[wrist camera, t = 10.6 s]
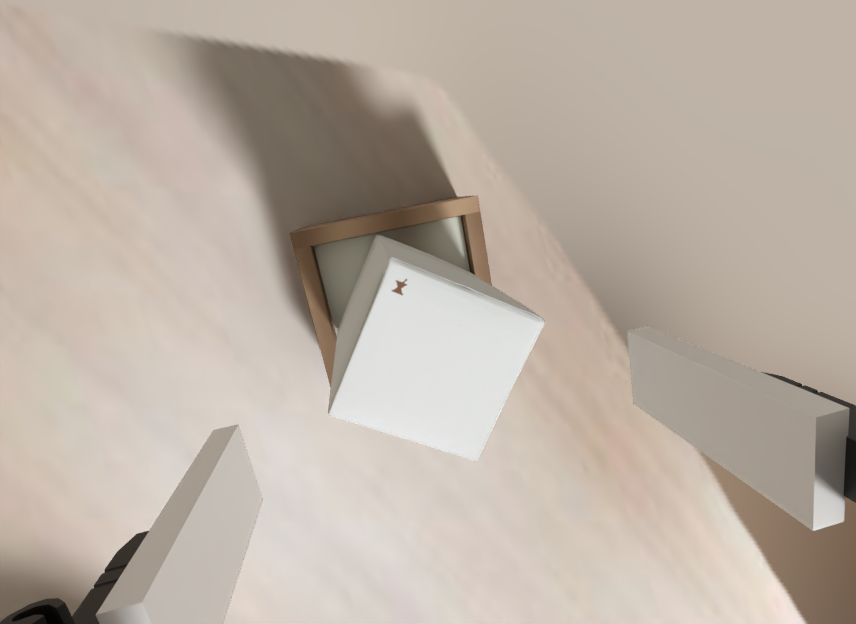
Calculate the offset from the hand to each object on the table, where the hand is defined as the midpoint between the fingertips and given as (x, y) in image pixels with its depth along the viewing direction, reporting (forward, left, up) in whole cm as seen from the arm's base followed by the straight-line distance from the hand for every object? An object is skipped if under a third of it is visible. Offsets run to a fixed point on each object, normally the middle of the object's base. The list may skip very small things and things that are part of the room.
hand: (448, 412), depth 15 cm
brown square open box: (0, 0, -22) cm, 22 cm away
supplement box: (0, 0, -17) cm, 17 cm away
